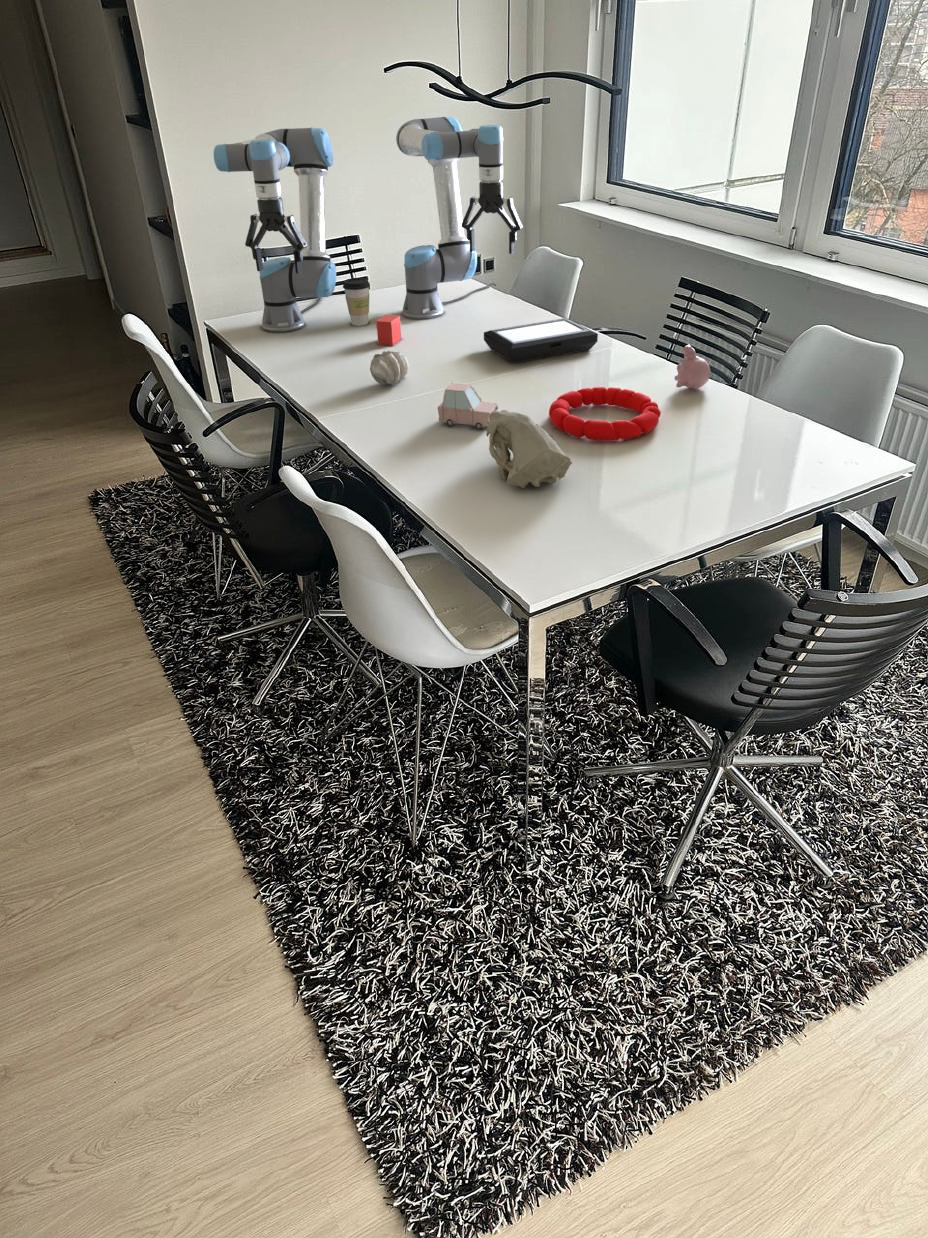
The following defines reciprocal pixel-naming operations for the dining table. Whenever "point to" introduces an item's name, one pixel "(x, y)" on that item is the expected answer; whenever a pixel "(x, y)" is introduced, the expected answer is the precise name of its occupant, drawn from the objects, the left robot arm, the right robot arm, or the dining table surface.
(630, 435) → the decorative ring
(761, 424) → the dining table surface
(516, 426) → the animal skull
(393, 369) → the seashell
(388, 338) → the block
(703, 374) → the figurine
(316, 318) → the dining table surface
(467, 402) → the toy car
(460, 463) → the dining table surface
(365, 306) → the coffee cup
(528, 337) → the electronic device
